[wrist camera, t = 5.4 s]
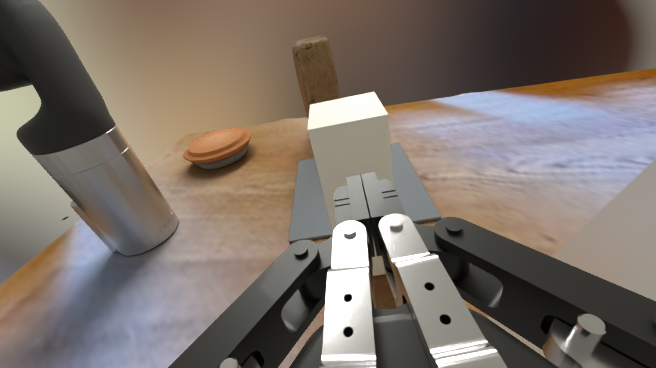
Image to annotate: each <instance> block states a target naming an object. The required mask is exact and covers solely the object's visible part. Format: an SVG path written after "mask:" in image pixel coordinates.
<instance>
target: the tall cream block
mask: <svg viewBox="0 0 656 368" xmlns="http://www.w3.org/2000/svg"><path fill="white" fill-rule="evenodd" d="M308 134H309V138H310V142H311V146H312V150H313V154H314V158H315V162H316V166H317V170H318V174H319V178H320V182H321V186H322V190H323V194H324V198H325V202H326V206H327V210H328V214H329V218H330V222H331V226H332V230H333V232H334V230H335V228H336V219H335V204H334V192H335V191H336V189H337V187H341V186H347V181H346V176H349V175H354V174H360V178H361V173H365V172H371V171H375V173H376V177H377V180H381V179H388V180H389V181H391V182H392V183H393V176H392V163H391V149H390V135H389V122H388V114H387V112H386V110H385V109H384V107H383V105H382V104H381V102H380V101H379V99H378V97H377V96H376V94H375V92H370V93H365V94H361V95H355V96H351V97H346V98H341V99H336V100H331V101H326V102H321V103H316V104H311V105H310V109H309V120H308ZM361 182H362V180H361ZM362 187H363V186H362ZM373 244H374V241H373ZM374 251H375V257H372V262H373V269H372V271H373V276H376V275H383V274H385V271H384V264H383V259H382V256H377V255H376V250H375V246H374Z"/></svg>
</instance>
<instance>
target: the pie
mask: <svg viewBox="0 0 656 368" xmlns="http://www.w3.org/2000/svg"><path fill="white" fill-rule="evenodd" d="M250 137H251V132H249V131H248V130H244V129H238V128H230V129H223V130H219V131H215V132H212V133H210V134H207V135H205V136H203V137H201V138H199V139H197V140H196V141H194V142H193V143H192V144H191V145H190V146H189V148H188V149H187V150H186V151H184V154H183V157H184V159H186V160H188V161H190V162H192V163H195V164H196V165H198V166H200V167H202V168H204V169H217V168H221V167H224V166H227V165H230V164H232V163H234V162H236V161H238V160H239V159H241V158H242V157H243V156H244V155H245V154H246V152H247V149H248V145H249V141H250Z"/></svg>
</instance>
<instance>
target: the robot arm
mask: <svg viewBox="0 0 656 368" xmlns="http://www.w3.org/2000/svg"><path fill="white" fill-rule="evenodd" d="M29 85H33V86H34V88H35V89H36V91H37V93H38V95H39V97H40V99H41V107H40V109H39V111H38V113H37V114H36V115H35V117H33V118H32V119H31V120H30V121H28V122H27V123H26V124H24V125H23V126H22V127H20V128H19V129H18V131H17V138H18V139H19V141H20V142H21V143H22V144H23V146H24V147H25V148H26V149H27V150H28V151H29V152H30V154H32V156H33V157H34V158H35V159H36V160H37V161H38V162H39V163H40V164H41V166H42V167H43V168H44V169H45V170H46V171H47V172H48V173H49V174H50V176H52V178H53V179H54V180H55V181H56V182H57V183H58V184H59V186H60V187H61V188H62V189H63V190H64V191H65V192H66V193H67V194H68V195H69V197H70V198H71V199H72V200H73V201H72V202H71V207H72V208H73V209H74V211H75V212H76V213H77V214H78V215H79V216H80V217H81V218H82V219H83V220H84V221H85V223H86V224H87V225H88V226H89V227H90V228H91V229H92V230H93V231H94V232H95V233H96V235H97V236H98V237H99V238H100V239H101V240H102V241H103V242H104V243H105V244H106V245H107V247H108V248H109V249H110V250H111V251H112V252H116V251H118V252H119V253H121V254H122V255H125V256H131V255H137V254H140V253H143V252H146V251H148V250H150V249H152V248H154V247H156V246H158V245H159V244H161V243H162V242H164V241H165V240H166V239H167V238H168V237H169V236H170V235H171V234H172V233H173V232H174V231H175V229H176V228H177V226H178V222H179V221H178V218H177V216H176V215H175V213H174V212H173V210H172V209H171V207H170V206H169V204H168V203H167V201H166V199H165V198H164V196H163V195H162V193H161V192H160V190H159V189H158V187H157V186H156V184H155V183H154V181H153V180H152V178H151V177H150V175H149V174H148V172H147V170H146V169H145V167H144V166H143V165H142V163H141V161H140V160H139V158H138V157H137V155H136V154H135V152H134V151H133V149H132V148H131V146H130V145H129V144H128V142H127V140H126V139H125V137H124V136H123V134H122V133H121V131H120V130H119V128H118V127H117V125H116V124H115V122H114V120H113V119H112V117H111V116H110V114H109V112H108V109H107V107H106V105H105V102H104V100H103V98H102V96H101V94H100V92H99V91H98V89H97V88H96V86H95V84H94V83H93V81H92V79H91V78H90V76H89V74H88V73H87V71H86V69H85V67H84V66H83V64H82V62H81V60H80V59H79V57H78V55H77V53H76V52H75V50H74V48H73V47H72V45H71V43H70V41H69V40H68V38H67V36H66V35H65V33H64V31H63V30H62V29H61V27H60V26H59V24H58V23H57V21H56V20H55V19H54V17H53V16H52V15H51V14H50V13H49V11H48V10H47V9H46V8H45V7H44V6H43V5H42V4H41V3H40V2H39V1H38V0H0V92H2V91H7V90H12V89H16V88H20V87H24V86H29ZM361 180H362V182H361ZM346 181H347V186H341V187H337V189H336V191H335V192H334V204H335V219H336V228H335V230H334V232H333V235H332V236H331V237H330V238H329V239H328V240H326V241H324V242H322V243H319V244H317V245H316V243H314V242H313V241H311V240H300V241H297V242H295V243H293V244H292V245H290V246H289V247H288V248H287V249H286V250H285V251H284V252H283V253H282V254H281V255H280V256H279V257H278V258H277V259H276V260H275V261H274V262H273V263H272V264H271V265H270V266H269V267H268V268H267V269H266V270H265V271H264V272H263V273H262V274H261V275H260V276H259V277H258V278H257V279H256V280H255V281H254V282H253V283H252V284H251V285H250V286H249V287H248V288H247V289H246V290H245V291H244V292H243V293H242V294H241V295H240V296H239V297H238V298H237V299H236V300H235V301H234V302H233V303H232V304H231V305H230V306H229V307H228V308H227V309H226V310H225V311H224V312H223V313H222V314H221V315H220V316H219V317H218V318H217V319H216V320H215V321H214V322H213V323H212V324H211V325H210V326H209V327H208V328H207V329H206V330H205V331H204V332H203V333H202V334H201V335H200V336H199V337H198V338H197V339H196V340H195V341H194V342H193V343H192V344H191V345H190V346H189V347H188V348H187V349H186V350H185V351H184V352H183V353H182V354H181V355H180V356H179V357H178V358H177V359H176V360H175V361H174V362H173V363H172V364H171V365H170V366H169V367H168V368H278V367H279V365H280V364H281V363H282V361H283V360H284V359H285V357H286V356H287V355H288V353H289V352H290V350H291V349H292V348H293V346H294V345H295V344H296V342H297V341H298V340H299V338H300V337H301V336H302V334H303V333H304V332H305V330H306V329H307V328H308V326H309V325H310V324H311V322H312V321H313V319H314V318H315V317H316V315H317V314H318V313H319V311H320V310H321V309H322V307H323V306H324V305H325V317H324V325H323V326H321V327H320V328H319V329H318V330H316V331H315V332H314V333H313V335H312V336H311V337H310V338H309V339H308V341H307V342H306V344H305V345H304V347H303V348H302V350H301V351H300V353H299V354H298V356H297V357H296V359H295V360H294V361H293V363H292V364H291V366H290V367H289V368H656V301H653V300H651V299H649V298H646V297H644V296H642V295H639V294H637V293H635V292H632V291H630V290H628V289H625V288H623V287H621V286H618V285H616V284H613V283H611V282H609V281H606V280H604V279H602V278H599V277H597V276H594V275H592V274H590V273H587V272H585V271H582V270H580V269H578V268H576V267H574V266H571V265H569V264H566V263H564V262H562V261H559V260H557V259H555V258H552V257H550V256H548V255H545V254H543V253H541V252H538V251H536V250H534V249H531V248H529V247H527V246H524V245H522V244H520V243H517V242H515V241H513V240H510V239H508V238H505V237H503V236H501V235H498V234H496V233H494V232H491V231H489V230H487V229H484V228H482V227H480V226H477V225H475V224H473V223H470V222H468V221H466V220H463V219H460V218H456V217H447V218H443V219H440V220H439V221H437V222H436V224H435V226H425V225H419V224H416V223H414V222H412V221H411V219H410V218H409V217H407V216H406V214H405V212H404V209H403V207H402V204H401V202H400V199H399V197H398V195H397V192H396V190H395V187H394V185H393V183H392V182H391V181H389V180H388V179H381V180H377V177H376V173H375V171H371V172H365V173H361V178H360V174H354V175H349V176H346ZM362 186H363V187H362ZM373 241H374V244H373ZM374 246H375V250H376V255H377V256H382V259H383V264H384V271H385V274H386V277H387V280H388V283H389V286H390V289H391V292H392V295H393V298H394V301H395V304H396V308H393V309H380V308H376V300H375V290H374V280H373V271H372V269H373V262H372V257H375V251H374ZM470 263H471V264H470ZM483 270H484V271H483ZM485 271H486V272H485ZM463 299H464V300H465V301H467V302H468V303H470V304H472V305H473V306H475V307H476V308H478V309H479V310H481V311H483V312H484V313H486V314H487V315H489V316H490V317H492V318H493V319H495V320H497V321H498V322H500V323H501V324H503V325H504V326H506V327H508V328H509V329H511V330H512V331H514V332H516V333H517V334H519V335H520V336H522V337H523V338H525V339H526V340H528V341H529V342H531V343H533V344H534V345H536V346H537V347H539V348H540V349H542V350H543V352H544V355H545V357H546V358H544V357H543V356H541V355H540V354H538V353H537V352H536V351H534V350H533V349H531V348H530V347H528V346H527V345H525V344H524V343H522V342H521V341H520V340H518V339H517V338H515V337H514V336H512V335H511V334H509V333H507V332H506V331H505V330H504V329H502V328H501V327H499V326H498V325H496V324H495V323H493V322H492V321H490V320H489V319H488V318H486V317H484V316H483V315H481V314H479V313H477V312H475V311H473V310H471V309H469V308H467V306H466V304H465V303H464V301H463Z"/></svg>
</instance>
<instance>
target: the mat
mask: <svg viewBox="0 0 656 368" xmlns="http://www.w3.org/2000/svg"><path fill="white" fill-rule="evenodd" d="M390 149H391V163H392V176H393V185H394V187H395V190H396V192H397V195H398V197H399V199H400V202H401V204H402V207H403V209H404V212H405V214H406V216H407V217H409V218H410V219H411V221H412V222H414V223H419V222H426V221H432V220H438V219H441V216H440V214H439V212H438V210H437V208H436V207H435V205H434V203H433V201H432V200H431V198H430V196H429V194H428V193H427V191H426V189H425V187H424V185H423V184H422V182H421V180H420V178H419V177H418V175H417V173H416V171H415V170H414V168H413V166H412V164H411V162H410V161H409V159H408V157H407V155H406V154H405V152H404V150H403V148H402V147H401V145H400V143H394V144H390ZM332 235H333V230H332V226H331V222H330V218H329V214H328V210H327V206H326V202H325V198H324V194H323V190H322V186H321V182H320V178H319V174H318V170H317V166H316V162H315V158H312V159H307V160H301V161H299V164H298V171H297V179H296V187H295V195H294V203H293V210H292V218H291V226H290V234H289V243H293V242H297V241H300V240H312V239H319V238H325V237H331V236H332Z"/></svg>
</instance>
